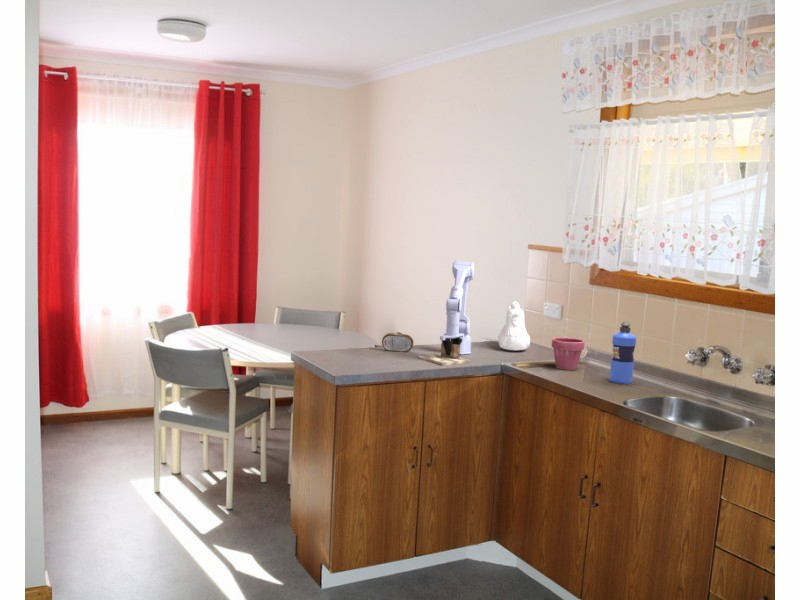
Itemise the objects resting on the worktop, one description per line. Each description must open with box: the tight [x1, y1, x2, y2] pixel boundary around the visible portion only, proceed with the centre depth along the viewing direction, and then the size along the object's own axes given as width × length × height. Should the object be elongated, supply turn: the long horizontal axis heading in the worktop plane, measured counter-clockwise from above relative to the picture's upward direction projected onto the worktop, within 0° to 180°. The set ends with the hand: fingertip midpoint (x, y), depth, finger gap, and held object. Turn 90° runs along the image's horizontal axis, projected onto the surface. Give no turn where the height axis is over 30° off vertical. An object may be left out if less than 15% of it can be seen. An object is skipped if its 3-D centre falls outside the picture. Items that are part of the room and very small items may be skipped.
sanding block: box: [440, 342, 461, 359], centre depth 327 cm, size 4×8×6 cm, turn 45°
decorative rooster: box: [497, 300, 531, 352], centre depth 360 cm, size 25×16×25 cm, turn 167°
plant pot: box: [551, 337, 585, 371], centre depth 319 cm, size 14×14×13 cm
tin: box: [381, 332, 414, 353], centre depth 341 cm, size 15×3×8 cm, turn 84°
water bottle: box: [609, 321, 637, 385], centre depth 295 cm, size 9×9×25 cm
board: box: [417, 353, 471, 366], centre depth 324 cm, size 16×18×1 cm
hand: (451, 354), depth 327 cm, fingers closed on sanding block, 4 cm apart
